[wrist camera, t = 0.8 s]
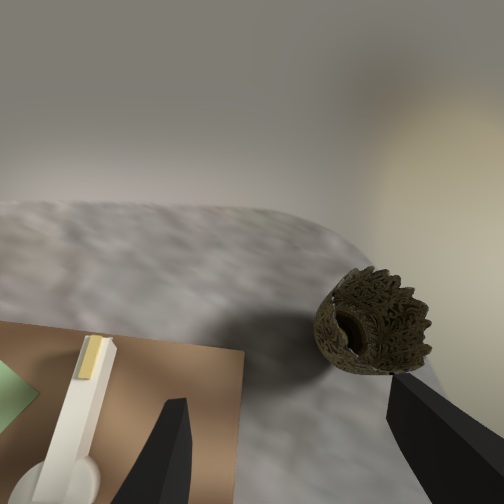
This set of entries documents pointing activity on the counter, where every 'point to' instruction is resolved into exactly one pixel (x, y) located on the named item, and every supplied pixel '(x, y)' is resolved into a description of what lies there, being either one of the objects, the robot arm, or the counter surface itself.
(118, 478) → the board
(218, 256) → the counter surface
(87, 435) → the peg
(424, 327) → the cup
